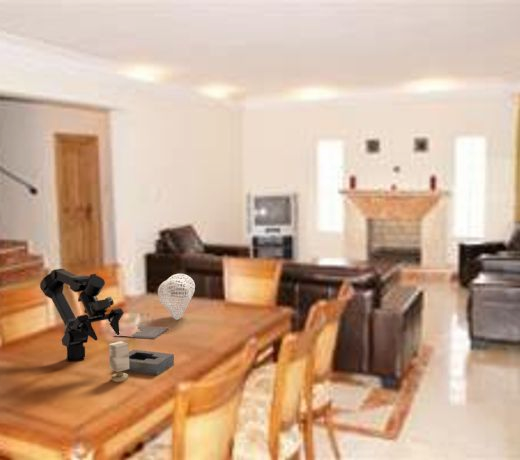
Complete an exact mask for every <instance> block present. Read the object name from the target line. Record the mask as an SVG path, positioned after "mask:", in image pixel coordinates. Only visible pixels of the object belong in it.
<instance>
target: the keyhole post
mask: <svg viewBox="0 0 520 460" xmlns="http://www.w3.org/2000/svg"><path fill="white" fill-rule="evenodd" d="M108 349H109V350H108V351H109V357H108V358H109V369H110V370H111V371H114V372H116V373H114V374H112V375H111V379H110V380H111V381H112V382H115V383H122V382H126V381H128V380H129V374H128V373H125V372H124V371H123V370H127V369H129V352H130V344H129V343H127V342H125V341H121V340H120V341H116V342H113V343H109V344H108Z"/></svg>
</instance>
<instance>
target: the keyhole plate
mask: <svg viewBox="0 0 520 460" xmlns="http://www.w3.org/2000/svg"><path fill="white" fill-rule="evenodd" d="M174 355H175V354H174V353H169V352H168V353H167V352H158V351H151V350H150V351H149V350H148V351H147V350H143V349H142V350H140V349H132V350H131V351H130V350H129V369H127V370H123V372H124V373H125V372H127V373H132V374H133V373H134V374H142V375H150V376H159V375H160V374H162V373H163V372H165V371H167V370H168V369H170V368H172V366H175V356H174Z"/></svg>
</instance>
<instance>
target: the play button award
mask: <svg viewBox="0 0 520 460" xmlns="http://www.w3.org/2000/svg"><path fill="white" fill-rule="evenodd" d="M138 326H139V327H138V329H140V331H141V332H136V333H135V334H133V335H132V336H133V337H137V338H136V339H147V338H150V339H151V340H152V339H153V340H156V339H158V338H159V337H160V336H161V334H162V335H163V334H164V332H165V333H166V332H167V331H169V330H170V328H169V327H165V326H152V325H151V326H147V325H138ZM158 336H159V337H158ZM155 338H156V339H155Z"/></svg>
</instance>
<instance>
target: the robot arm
mask: <svg viewBox="0 0 520 460" xmlns="http://www.w3.org/2000/svg"><path fill="white" fill-rule="evenodd" d="M64 285H68V286H69V289H70V290H71V292H74V293H79V292H80V294H79V295H78V299H77V302H78V303H80V302H81V303H82V306H83V307H84V310H83V311H84V313H85V314H82V315H77V316H76V315H75V314H74V311H73V309H72V308H71V306H70V304H69V302H68V300H67V299H66V296H65V295H64ZM105 285H106V283H105V279H104V278H102V277H101V276H99V275H97V274H96V273H91V274H90V275H85V274H83V275H78V274H75V273H72V272H70V271H67V270H66V269H65V268H56V269H52V270H51V271H50V273H49V274H47V275H46V276H44V277H43V278H42V280H41V281H40V282H39V288H40V291H41V292H42V293H43V294H44V296H45V297H46V298H49V299H51V301H52V303H53V305H54V307H55V308H56V310H57V313H58V314H59V316H60V318H61V320H62V322H63V324H64V332H63V333H64V334H63V336H62V338H61V343H62V346H65V347H66V362H78V361H84V360H85V357H86V346H85V345H84V344H85V343H88V339H89V337H90V338H91V339H93V340H95V341H98V339H99V338H98V335H97V333H96V332H95V329H94V328H93V326H92V323H96V322H101V321H105V320H106V321H107V320H108V322H109V326H110V327H111V328H112V330H113V332H114V334H117V335H119V334H120V333H119V331H120V325H119V324H120V319H121V318H122V317H123V315H124V311H123V309H122V308H121V307H117V308H111V307H112V306H113V305H114V304H115V303H114V300H113V298H112V296H107V297H106V298H103V299H100V300H99V298H98V296H99V295H100V293H101V291H102V290H103V288H104V286H105ZM109 308H111V310H110V312H109V313H107V311H108V309H109Z"/></svg>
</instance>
